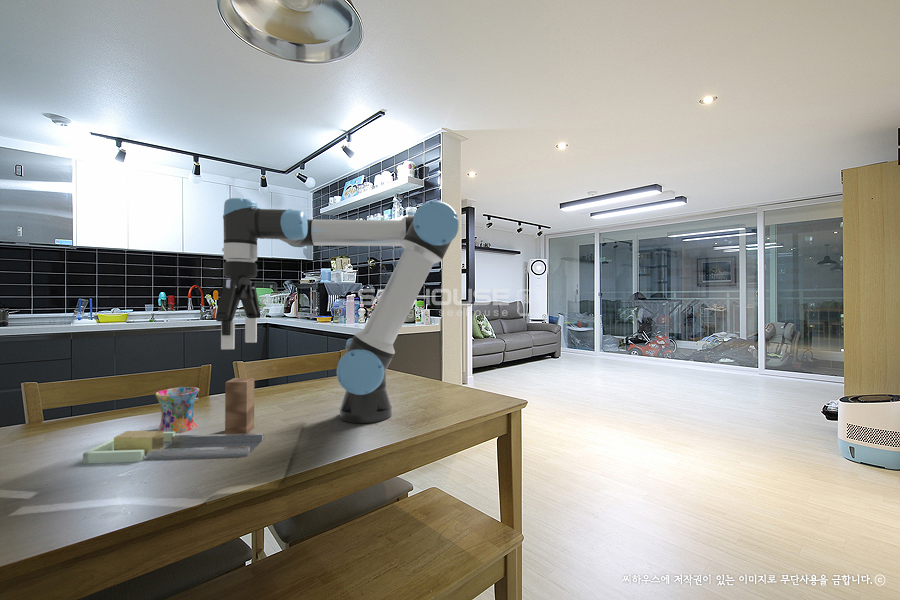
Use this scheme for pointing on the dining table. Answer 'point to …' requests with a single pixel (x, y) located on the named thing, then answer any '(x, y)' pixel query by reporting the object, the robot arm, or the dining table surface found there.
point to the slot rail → (208, 446)
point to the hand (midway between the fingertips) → (240, 345)
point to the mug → (177, 409)
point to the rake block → (239, 405)
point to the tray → (117, 452)
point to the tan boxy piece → (148, 441)
